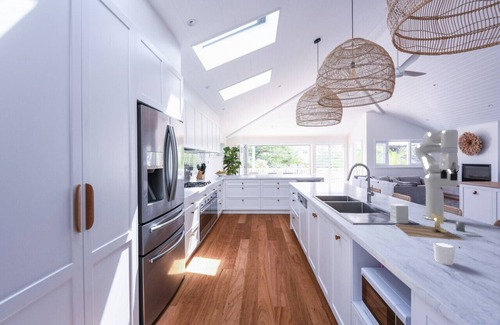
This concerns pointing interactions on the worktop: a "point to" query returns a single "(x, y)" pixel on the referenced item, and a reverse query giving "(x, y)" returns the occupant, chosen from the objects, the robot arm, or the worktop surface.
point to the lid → (464, 229)
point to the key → (438, 222)
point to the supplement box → (399, 213)
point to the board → (426, 232)
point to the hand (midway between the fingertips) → (448, 179)
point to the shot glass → (444, 253)
